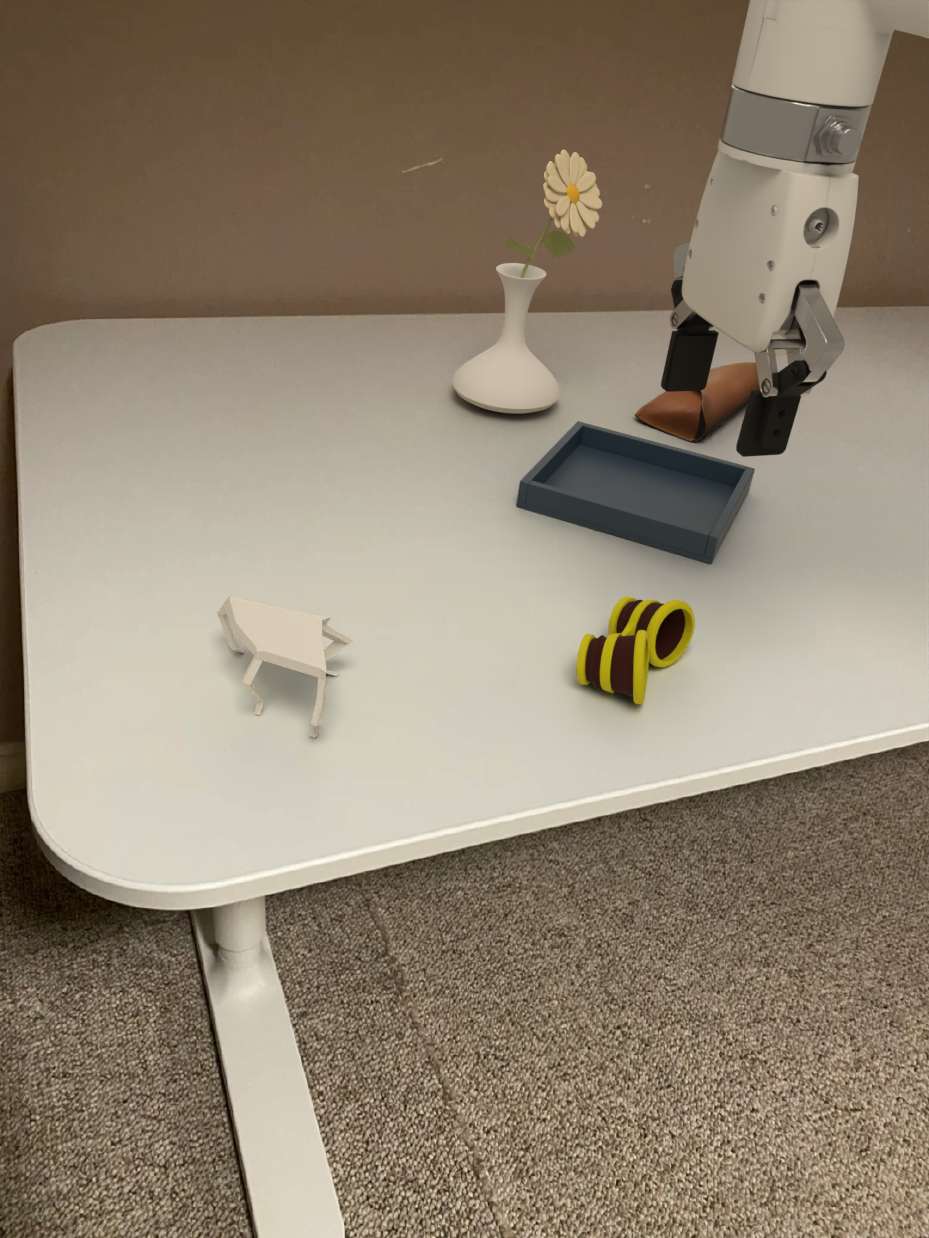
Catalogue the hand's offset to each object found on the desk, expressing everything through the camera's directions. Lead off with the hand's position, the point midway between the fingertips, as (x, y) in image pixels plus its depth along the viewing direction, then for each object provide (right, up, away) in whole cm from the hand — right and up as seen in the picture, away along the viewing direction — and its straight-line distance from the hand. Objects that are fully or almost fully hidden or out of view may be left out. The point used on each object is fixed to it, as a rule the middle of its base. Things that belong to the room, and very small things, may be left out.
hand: (718, 419), depth 69 cm
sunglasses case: (+9, +10, +49) cm, 51 cm away
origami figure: (-29, -17, +2) cm, 33 cm away
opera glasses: (-5, -16, +7) cm, 19 cm away
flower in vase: (-11, +10, +46) cm, 48 cm away
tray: (-1, -2, +30) cm, 30 cm away
